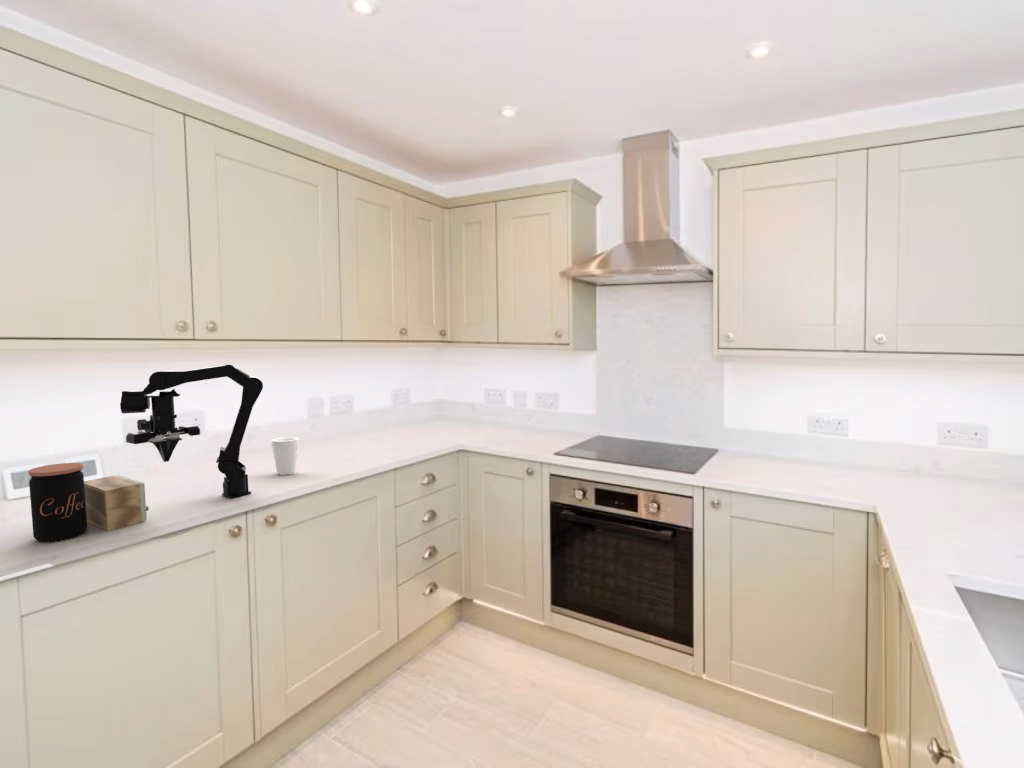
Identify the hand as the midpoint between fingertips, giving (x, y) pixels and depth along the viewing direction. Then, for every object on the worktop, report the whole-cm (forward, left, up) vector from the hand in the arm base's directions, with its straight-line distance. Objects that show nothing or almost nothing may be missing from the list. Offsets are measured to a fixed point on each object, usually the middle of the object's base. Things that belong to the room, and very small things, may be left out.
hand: (166, 461), depth 163 cm
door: (+12, +5, -13) cm, 18 cm away
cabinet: (+17, +5, -13) cm, 22 cm away
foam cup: (-42, -1, -13) cm, 44 cm away
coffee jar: (+29, +6, -13) cm, 32 cm away
